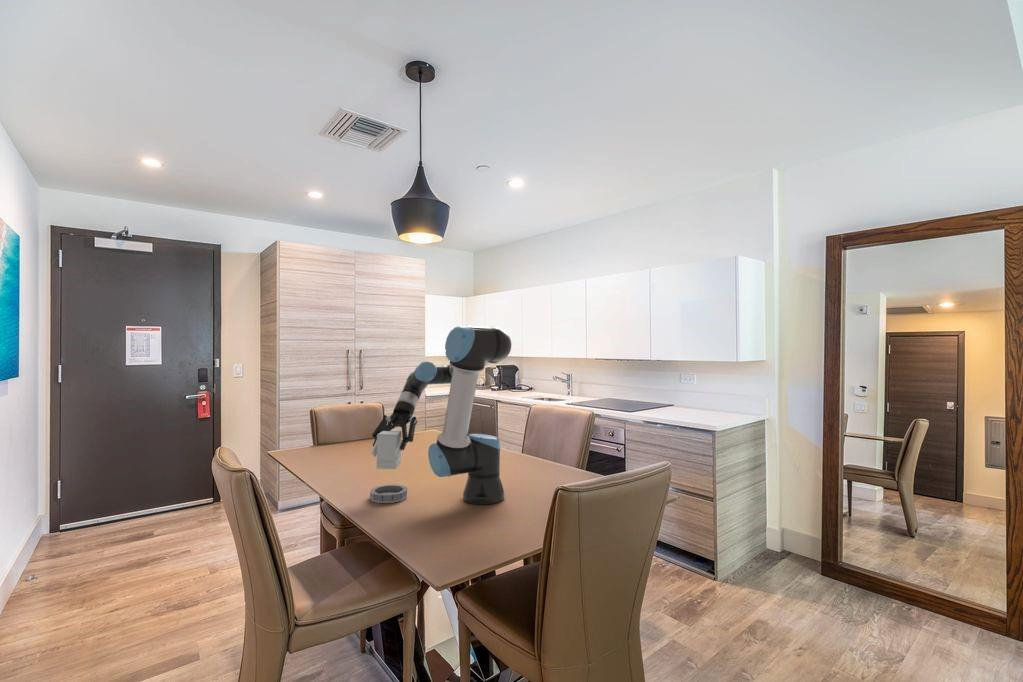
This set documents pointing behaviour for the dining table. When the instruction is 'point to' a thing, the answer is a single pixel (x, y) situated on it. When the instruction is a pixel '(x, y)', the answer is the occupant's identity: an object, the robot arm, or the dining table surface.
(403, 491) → the round holder
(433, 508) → the dining table surface
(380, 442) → the supplement box
